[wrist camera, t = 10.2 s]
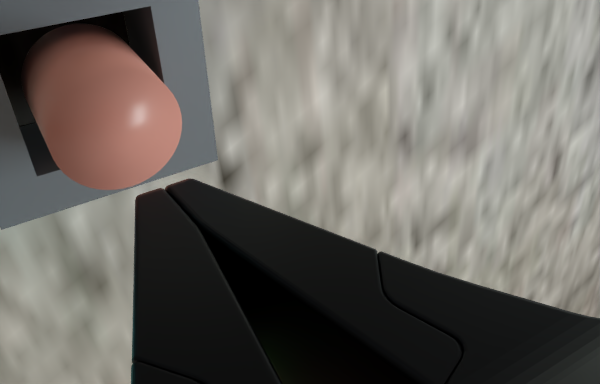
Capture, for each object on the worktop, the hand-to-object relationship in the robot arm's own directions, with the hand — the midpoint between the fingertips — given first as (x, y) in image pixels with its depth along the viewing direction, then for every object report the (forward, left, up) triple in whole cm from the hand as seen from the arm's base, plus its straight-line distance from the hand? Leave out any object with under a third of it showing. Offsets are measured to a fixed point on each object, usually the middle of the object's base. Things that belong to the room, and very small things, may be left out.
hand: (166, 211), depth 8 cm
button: (0, 0, -5) cm, 5 cm away
